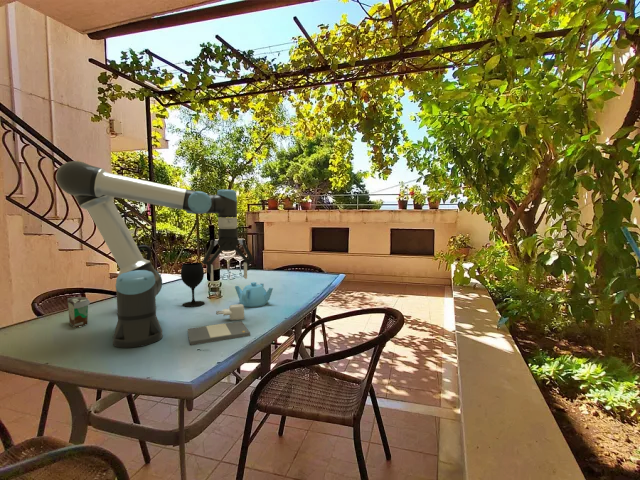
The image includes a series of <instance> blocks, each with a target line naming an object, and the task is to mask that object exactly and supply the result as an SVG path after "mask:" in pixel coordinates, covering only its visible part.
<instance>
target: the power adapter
mask: <svg viewBox="0 0 640 480" xmlns="http://www.w3.org/2000/svg"><path fill="white" fill-rule="evenodd" d="M215 315H223V316H229V320H230V321H242V320H244V319H245V307H244V306H243V304H240V303H238V304H230V305H229V308H223V309H222V310H216V311H215Z"/></svg>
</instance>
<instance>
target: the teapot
mask: <svg viewBox="0 0 640 480" xmlns="http://www.w3.org/2000/svg"><path fill="white" fill-rule="evenodd" d="M234 288H235V292H236V294H237V297H238V299H239V300H238V301H239V304H243V306H244V308H260V307H264V306H265V305H267V303H268V302H269V300H270V299H271V295H272V293H273V289H274V288H273V287H269V288H268V289H267V290H266V288H265V284H264V283H260V284H258V283H257V281H252V282H250V284H247V285H245V286H244V287H243V289H241V287H240V286H239V285H235V286H234Z"/></svg>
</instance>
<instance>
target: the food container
mask: <svg viewBox="0 0 640 480" xmlns="http://www.w3.org/2000/svg"><path fill="white" fill-rule="evenodd" d="M90 302H91V301H90V300H89V298H88V297H85V296H76V297H68V298H67V306H68V310H67V311H68V319H69V324H70V323H71V324H72V325H73V326H74V327H78V328H80V327H79V326H82V327H84V326H86V325H88V321H89V319H88V318H89V317H88V315H89V305H90V304H91V303H90ZM71 324H70V325H71ZM85 324H86V325H85ZM72 325H71V326H72ZM83 325H84V326H83ZM73 326H72V327H73ZM74 327H73V328H74Z"/></svg>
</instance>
